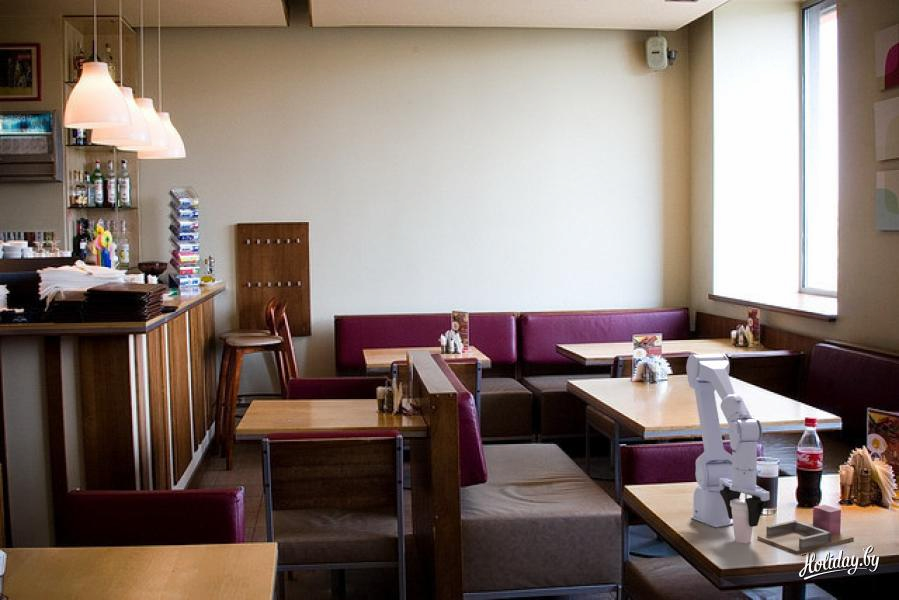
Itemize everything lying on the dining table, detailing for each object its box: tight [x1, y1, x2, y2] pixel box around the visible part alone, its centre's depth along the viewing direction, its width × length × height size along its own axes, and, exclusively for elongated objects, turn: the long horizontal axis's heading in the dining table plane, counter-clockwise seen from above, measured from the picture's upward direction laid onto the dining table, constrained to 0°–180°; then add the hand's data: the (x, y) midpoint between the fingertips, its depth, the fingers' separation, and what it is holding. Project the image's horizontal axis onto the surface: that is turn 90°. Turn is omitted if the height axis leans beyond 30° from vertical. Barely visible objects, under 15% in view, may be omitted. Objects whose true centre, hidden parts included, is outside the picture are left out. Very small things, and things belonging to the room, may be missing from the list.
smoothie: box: [730, 494, 754, 544], centre depth 226 cm, size 6×6×14 cm
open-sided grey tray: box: [757, 504, 855, 555], centre depth 227 cm, size 12×20×7 cm, turn 118°
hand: (743, 522), depth 227 cm, fingers closed on smoothie, 6 cm apart
